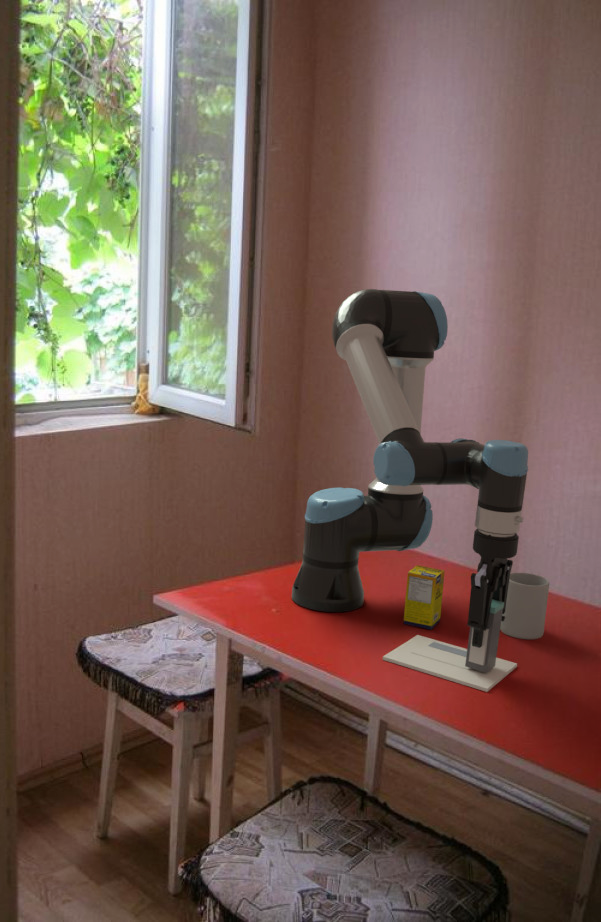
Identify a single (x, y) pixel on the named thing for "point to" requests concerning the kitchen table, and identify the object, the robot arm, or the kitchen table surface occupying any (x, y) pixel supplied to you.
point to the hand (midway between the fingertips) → (481, 658)
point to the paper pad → (447, 663)
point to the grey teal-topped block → (489, 638)
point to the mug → (525, 606)
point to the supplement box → (423, 597)
